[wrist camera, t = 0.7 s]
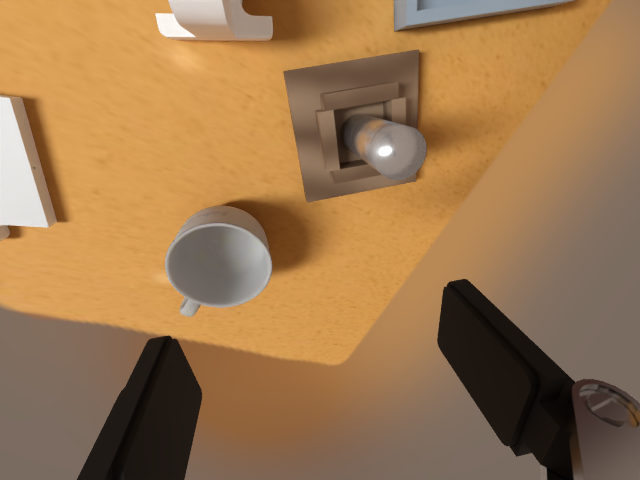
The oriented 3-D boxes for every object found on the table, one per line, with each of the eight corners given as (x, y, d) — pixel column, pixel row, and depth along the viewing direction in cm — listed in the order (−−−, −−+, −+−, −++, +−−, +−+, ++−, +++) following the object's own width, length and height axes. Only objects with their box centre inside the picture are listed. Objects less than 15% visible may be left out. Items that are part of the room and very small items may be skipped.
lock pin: (338, 116, 31) (374, 131, 21) (374, 110, 31) (427, 122, 21) (342, 153, 33) (377, 184, 23) (376, 147, 33) (425, 175, 23)
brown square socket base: (283, 71, 30) (285, 69, 26) (412, 51, 31) (431, 46, 27) (305, 198, 36) (309, 210, 33) (411, 177, 37) (425, 187, 34)
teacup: (224, 178, 34) (213, 202, 27) (288, 236, 39) (292, 269, 32) (149, 252, 37) (121, 291, 30) (217, 297, 41) (207, 340, 34)
